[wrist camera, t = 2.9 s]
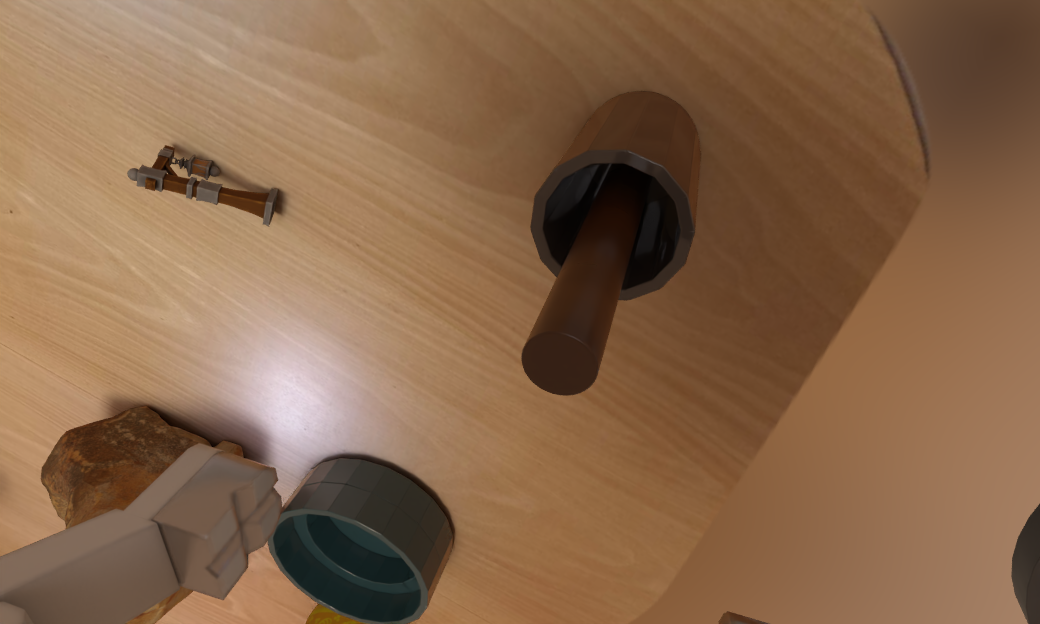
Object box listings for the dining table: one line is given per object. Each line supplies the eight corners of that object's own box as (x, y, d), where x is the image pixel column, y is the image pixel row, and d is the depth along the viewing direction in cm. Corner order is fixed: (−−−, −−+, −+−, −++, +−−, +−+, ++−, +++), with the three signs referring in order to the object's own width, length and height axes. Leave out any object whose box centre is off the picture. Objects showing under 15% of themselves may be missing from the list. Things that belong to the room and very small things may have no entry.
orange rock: (140, 326, 50) (-65, 444, 38) (297, 447, 50) (143, 602, 38) (115, 459, 64) (-41, 575, 52) (238, 553, 64) (112, 690, 52)
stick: (662, 140, 29) (604, 343, 14) (652, 178, 30) (589, 405, 15) (621, 132, 29) (526, 323, 15) (613, 170, 30) (516, 384, 16)
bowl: (459, 483, 48) (430, 545, 43) (450, 583, 55) (425, 646, 50) (301, 433, 50) (256, 487, 45) (314, 537, 58) (277, 592, 53)
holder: (715, 101, 28) (715, 167, 20) (681, 220, 31) (668, 317, 23) (592, 79, 29) (543, 133, 21) (571, 195, 32) (522, 281, 24)
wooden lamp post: (150, 131, 37) (121, 166, 33) (285, 169, 39) (271, 205, 36) (149, 157, 38) (122, 193, 34) (281, 192, 40) (268, 229, 37)
